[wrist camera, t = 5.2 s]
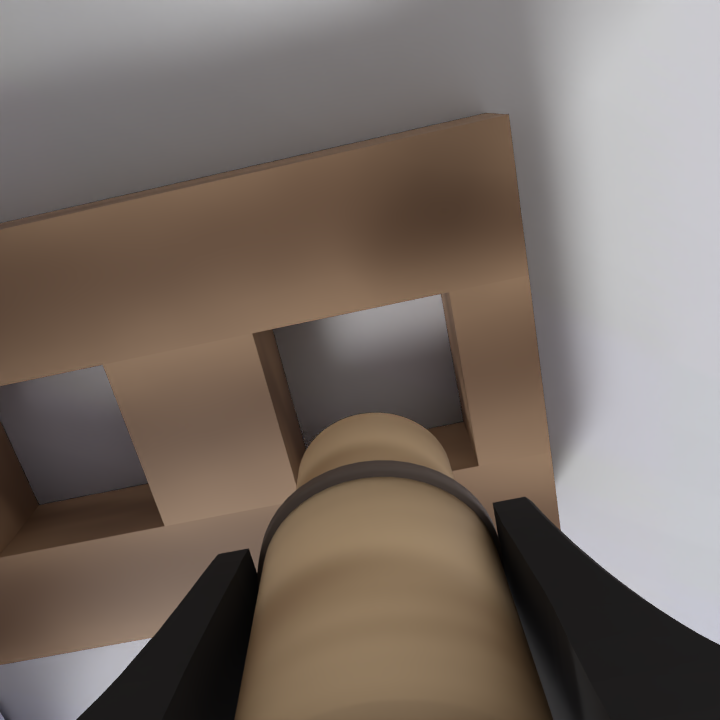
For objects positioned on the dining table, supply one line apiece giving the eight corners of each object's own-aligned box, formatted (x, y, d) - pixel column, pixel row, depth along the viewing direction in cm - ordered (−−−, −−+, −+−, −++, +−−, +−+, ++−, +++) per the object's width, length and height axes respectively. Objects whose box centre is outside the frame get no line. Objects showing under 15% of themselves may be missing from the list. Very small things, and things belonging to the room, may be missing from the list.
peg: (483, 546, 16) (599, 925, 9) (299, 576, 16) (258, 971, 9) (459, 375, 14) (576, 663, 7) (255, 411, 15) (159, 726, 7)
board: (540, 510, 24) (564, 563, 21) (26, 605, 26) (-14, 667, 23) (486, 112, 19) (508, 114, 16) (-149, 256, 21) (-227, 281, 18)
